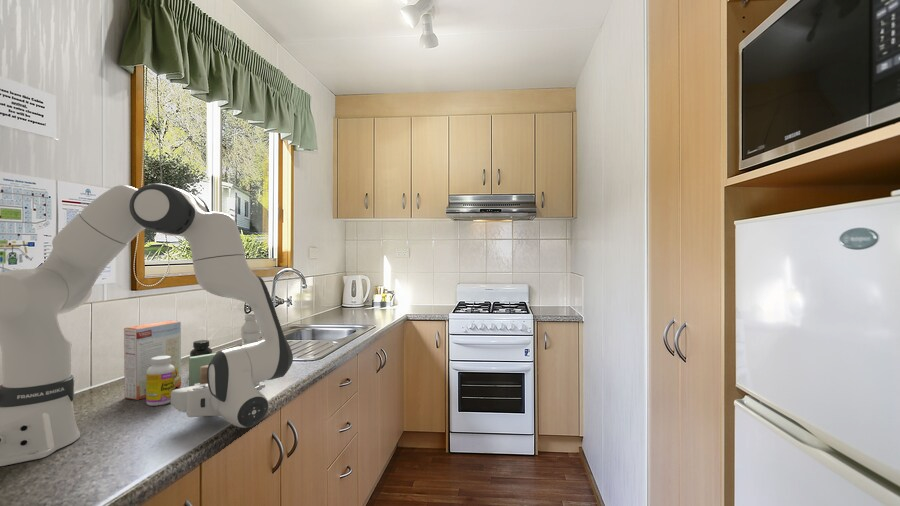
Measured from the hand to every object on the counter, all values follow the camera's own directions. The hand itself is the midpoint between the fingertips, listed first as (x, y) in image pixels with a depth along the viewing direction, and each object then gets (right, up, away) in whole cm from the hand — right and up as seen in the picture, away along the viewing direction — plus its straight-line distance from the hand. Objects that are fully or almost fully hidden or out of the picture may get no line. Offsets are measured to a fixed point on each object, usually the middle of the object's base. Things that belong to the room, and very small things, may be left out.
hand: (207, 384), depth 116 cm
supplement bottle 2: (-21, -7, +32) cm, 39 cm away
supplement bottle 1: (-17, -7, +6) cm, 19 cm away
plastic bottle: (-7, -7, +41) cm, 42 cm away
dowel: (+1, -7, -1) cm, 7 cm away
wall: (-7, -7, +19) cm, 21 cm away
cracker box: (-25, -7, +15) cm, 30 cm away
